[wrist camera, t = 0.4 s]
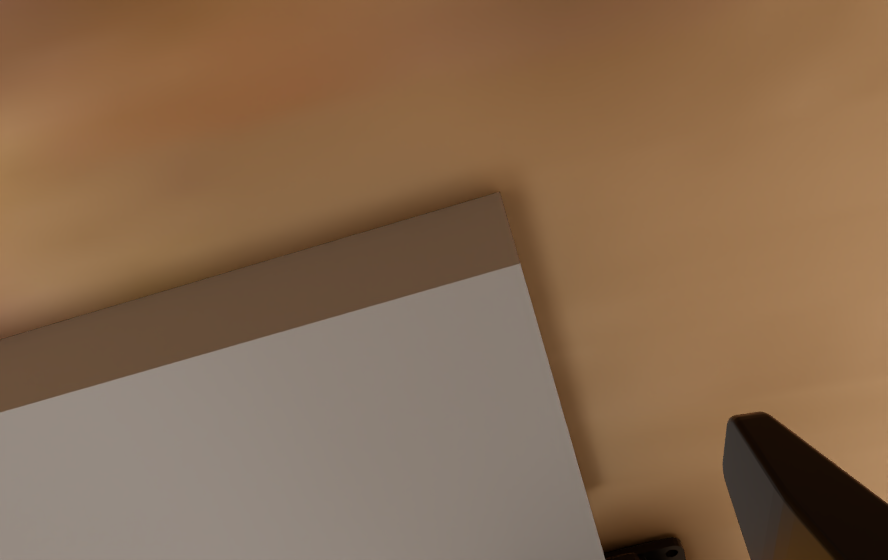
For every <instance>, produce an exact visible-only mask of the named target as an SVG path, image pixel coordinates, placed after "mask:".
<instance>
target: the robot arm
mask: <svg viewBox="0 0 888 560" xmlns="http://www.w3.org/2000/svg"><path fill="white" fill-rule="evenodd" d="M723 473H724V478H725V482H726V485H727V488H728V491H729V495H730V498H731V501H732V504H733V507H734V510H735V513H736V516H737V519H738V522H739V525H740V528H741V531H742V534H743V537H744V540H745V543H746V547H747V550H748V553H749V556H750V559H751V560H888V504H887V503H886V502H885V501H883V500H882V499H881V498H879V497H878V496H877V495H875V494H874V493H873V492H872V491H870V490H869V489H868V488H866V487H865V486H864V485H862V484H861V483H860V482H858V481H857V480H856V479H854V478H853V477H852V476H850V475H849V474H848V473H846V472H845V471H844V470H842V469H841V468H840V467H838V466H837V465H836V464H834V463H833V462H832V461H830V460H829V459H828V458H826V457H825V456H824V455H822V454H821V453H820V452H818V451H817V450H816V449H814V448H813V447H812V446H810V445H809V444H808V443H806V442H805V441H804V440H803V439H801V438H800V437H799V436H797V435H796V434H795V433H793V432H792V431H791V430H789V429H788V428H787V427H785V426H784V425H783V424H781V423H780V422H779V421H777V420H776V419H775V418H773V417H772V416H771V415H769V414H767V413H764V412H754V413H747V414H740V415H734V416H732V417H731V418H730V419H729V421H728V423H727V429H726V438H725V447H724V456H723ZM604 557H605V560H686V559H685V553H684V549H683V546H682V544H681V541H680V540H679V539H677V538H673V537H671V538H665V539H661V540H657V541H653V542H649V543H645V544H641V545H637V546H633V547H629V548H625V549H621V550H617V551H613V552H609V553H605V554H604Z"/></svg>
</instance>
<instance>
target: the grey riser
mask: <svg viewBox="0 0 888 560" xmlns="http://www.w3.org/2000/svg"><path fill="white" fill-rule="evenodd" d="M0 560H605V557H604V553H603V550H602V546H601V543H600V539H599V536H598V532H597V529H596V525H595V522H594V518H593V515H592V511H591V508H590V504H589V501H588V497H587V494H586V490H585V487H584V484H583V480H582V477H581V473H580V470H579V466H578V463H577V459H576V456H575V452H574V449H573V445H572V442H571V438H570V435H569V431H568V428H567V424H566V421H565V417H564V414H563V410H562V407H561V403H560V400H559V396H558V393H557V390H556V386H555V383H554V379H553V376H552V372H551V369H550V365H549V362H548V358H547V355H546V351H545V348H544V344H543V341H542V337H541V334H540V330H539V327H538V323H537V320H536V316H535V313H534V309H533V306H532V302H531V299H530V296H529V292H528V289H527V285H526V282H525V278H524V275H523V271H522V268H521V264H520V261H519V257H518V254H517V250H516V247H515V243H514V240H513V236H512V233H511V229H510V226H509V222H508V219H507V215H506V212H505V209H504V205H503V202H502V198H501V195H500V192H497V193H494V194H491V195H487V196H484V197H480V198H477V199H474V200H470V201H467V202H464V203H460V204H457V205H453V206H450V207H447V208H443V209H440V210H436V211H433V212H430V213H426V214H423V215H420V216H416V217H413V218H409V219H406V220H403V221H399V222H396V223H393V224H389V225H386V226H382V227H379V228H376V229H372V230H369V231H365V232H362V233H359V234H355V235H352V236H349V237H345V238H342V239H338V240H335V241H332V242H328V243H325V244H322V245H318V246H315V247H311V248H308V249H305V250H301V251H298V252H294V253H291V254H288V255H284V256H281V257H278V258H274V259H271V260H267V261H264V262H261V263H257V264H254V265H251V266H247V267H244V268H240V269H237V270H234V271H230V272H227V273H223V274H220V275H217V276H213V277H210V278H207V279H203V280H200V281H196V282H193V283H190V284H186V285H183V286H180V287H176V288H173V289H169V290H166V291H163V292H159V293H156V294H152V295H149V296H146V297H142V298H139V299H136V300H132V301H129V302H125V303H122V304H119V305H115V306H112V307H108V308H105V309H102V310H98V311H95V312H92V313H88V314H85V315H81V316H78V317H75V318H71V319H68V320H65V321H61V322H58V323H54V324H51V325H48V326H44V327H41V328H37V329H34V330H31V331H27V332H24V333H21V334H17V335H14V336H10V337H7V338H4V339H0Z"/></svg>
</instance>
